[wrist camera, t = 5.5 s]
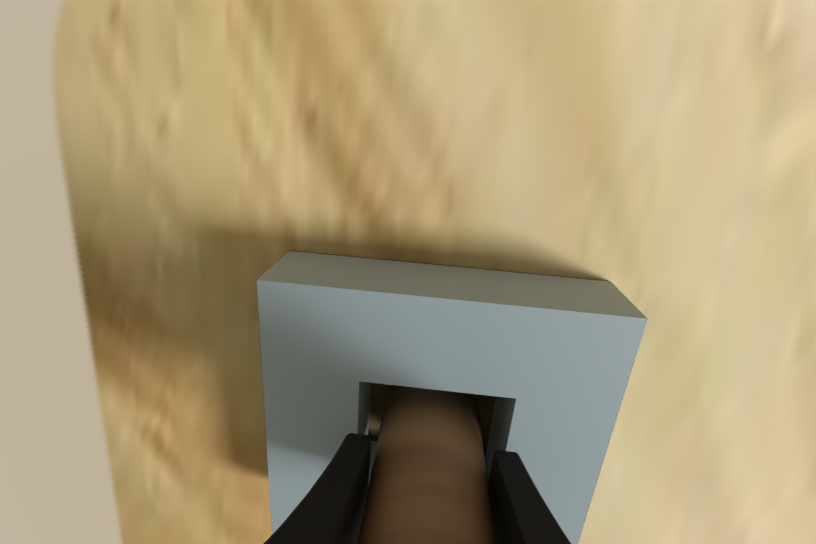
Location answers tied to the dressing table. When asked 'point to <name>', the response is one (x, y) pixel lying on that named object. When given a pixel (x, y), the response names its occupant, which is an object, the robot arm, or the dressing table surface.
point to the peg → (428, 472)
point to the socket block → (443, 364)
